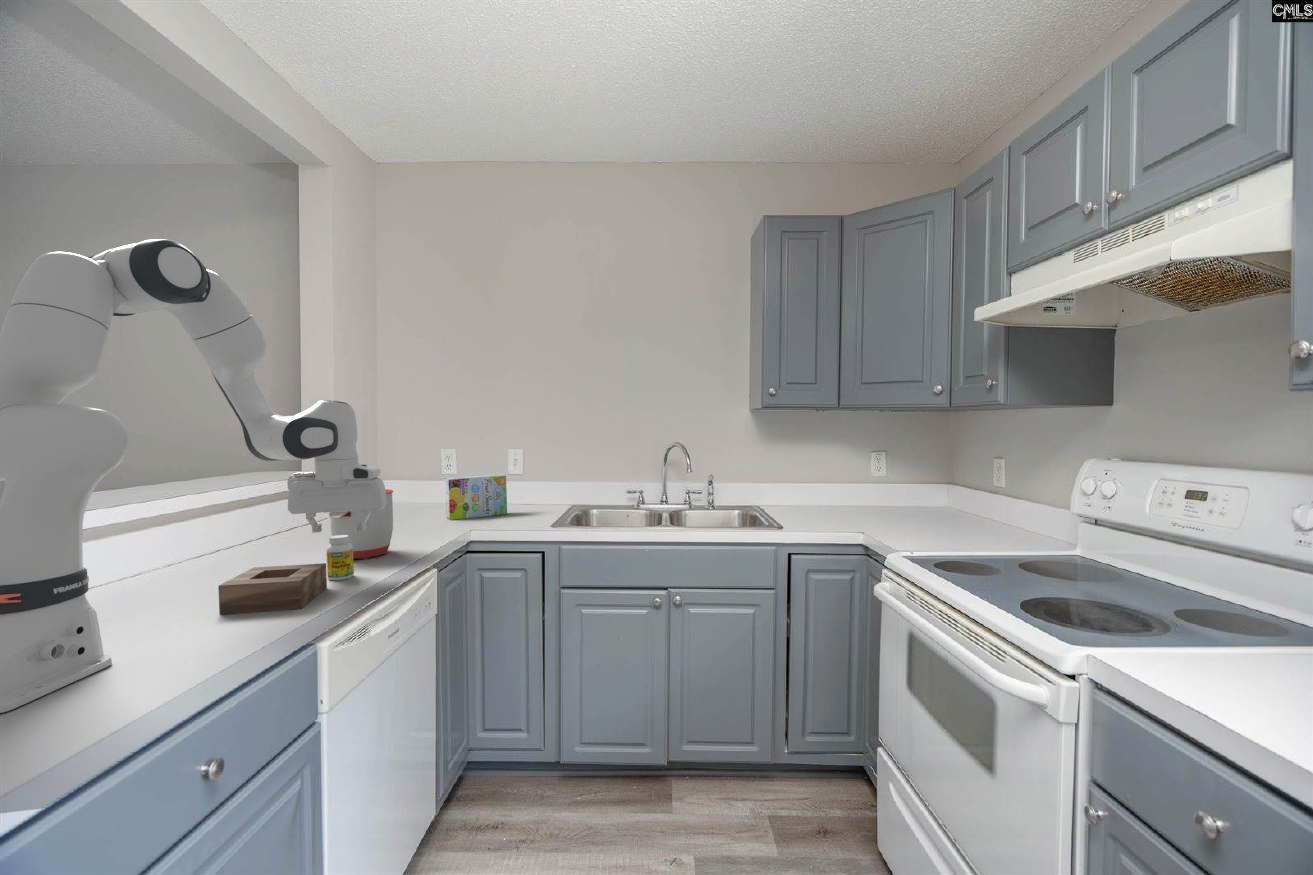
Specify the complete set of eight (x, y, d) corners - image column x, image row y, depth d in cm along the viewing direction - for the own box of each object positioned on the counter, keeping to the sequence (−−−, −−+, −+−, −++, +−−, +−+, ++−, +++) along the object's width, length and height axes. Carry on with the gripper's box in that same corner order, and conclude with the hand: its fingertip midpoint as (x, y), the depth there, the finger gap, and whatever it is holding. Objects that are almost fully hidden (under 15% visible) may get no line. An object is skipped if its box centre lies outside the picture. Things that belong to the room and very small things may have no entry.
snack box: (503, 512, 229) (502, 473, 228) (507, 514, 224) (506, 475, 224) (446, 518, 218) (445, 477, 218) (449, 520, 213) (448, 478, 213)
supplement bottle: (352, 573, 140) (350, 533, 140) (355, 578, 136) (354, 536, 135) (326, 577, 137) (324, 536, 137) (328, 582, 133) (327, 539, 132)
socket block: (301, 608, 114) (300, 580, 114) (219, 614, 111) (218, 585, 111) (326, 588, 128) (326, 563, 127) (254, 593, 125) (253, 567, 125)
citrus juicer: (310, 562, 152) (308, 484, 152) (361, 547, 169) (358, 477, 168) (361, 565, 148) (358, 485, 148) (407, 550, 165) (405, 478, 164)
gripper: (281, 474, 131) (283, 536, 131) (380, 471, 135) (382, 531, 135) (292, 471, 137) (295, 531, 137) (387, 468, 141) (389, 526, 141)
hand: (339, 531), depth 136 cm, fingers open, 8 cm apart
